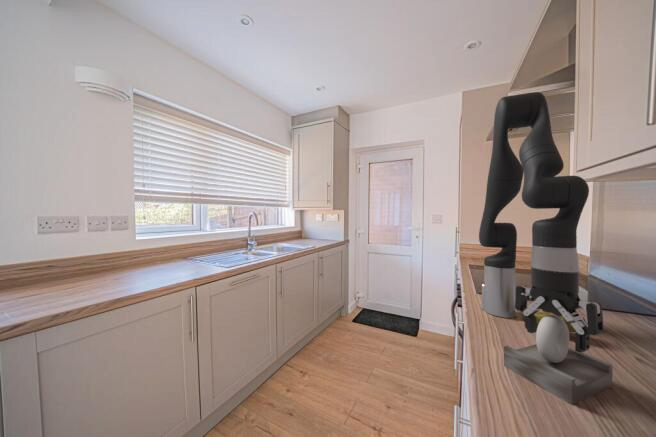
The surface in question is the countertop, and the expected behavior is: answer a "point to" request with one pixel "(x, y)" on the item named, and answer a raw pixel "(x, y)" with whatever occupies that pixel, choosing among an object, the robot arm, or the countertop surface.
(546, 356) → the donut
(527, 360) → the base
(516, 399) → the countertop surface
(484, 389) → the countertop surface
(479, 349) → the countertop surface
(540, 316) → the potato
